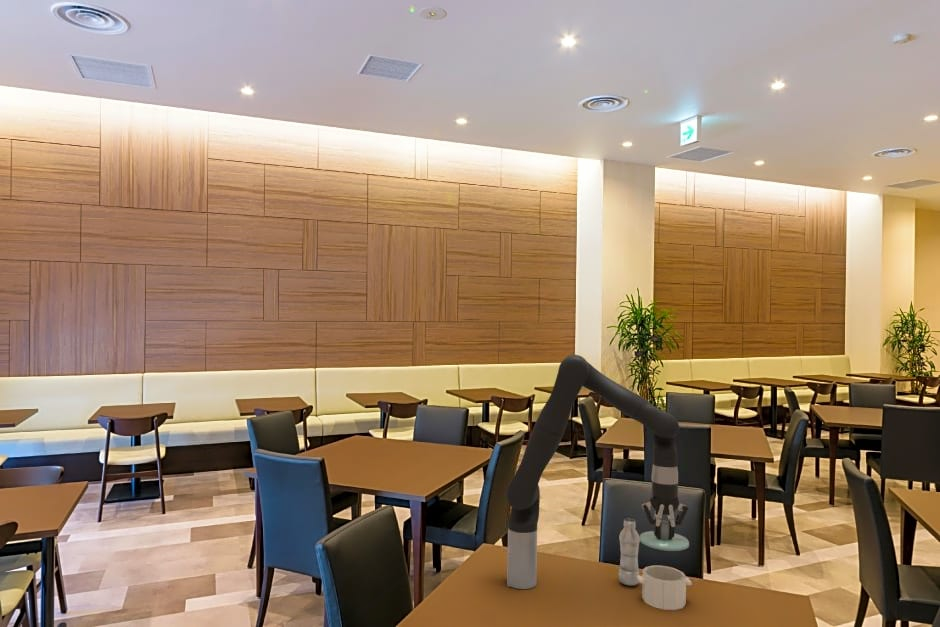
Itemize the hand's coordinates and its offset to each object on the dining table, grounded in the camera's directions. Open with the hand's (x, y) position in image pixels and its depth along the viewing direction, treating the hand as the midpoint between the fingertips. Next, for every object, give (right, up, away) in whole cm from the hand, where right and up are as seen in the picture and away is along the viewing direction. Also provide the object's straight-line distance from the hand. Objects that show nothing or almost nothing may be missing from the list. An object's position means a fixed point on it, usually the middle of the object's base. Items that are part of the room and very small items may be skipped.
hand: (664, 537), depth 182 cm
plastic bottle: (-8, -19, +11) cm, 23 cm away
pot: (0, -19, 0) cm, 19 cm away
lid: (0, -1, 0) cm, 1 cm away
